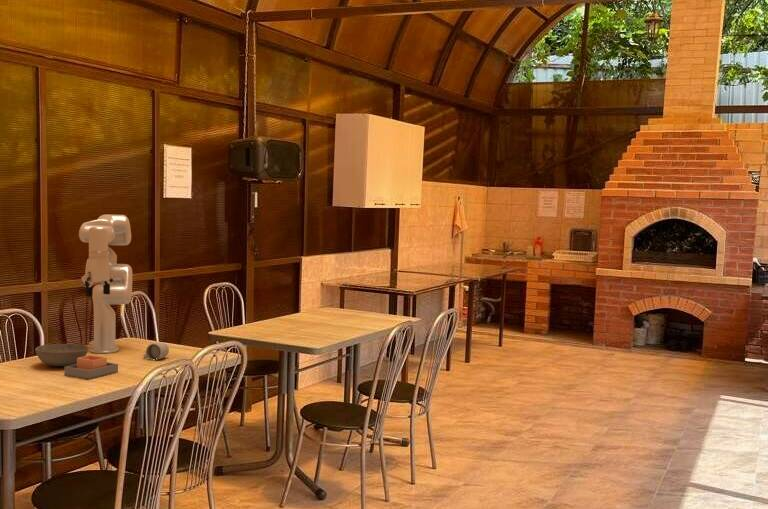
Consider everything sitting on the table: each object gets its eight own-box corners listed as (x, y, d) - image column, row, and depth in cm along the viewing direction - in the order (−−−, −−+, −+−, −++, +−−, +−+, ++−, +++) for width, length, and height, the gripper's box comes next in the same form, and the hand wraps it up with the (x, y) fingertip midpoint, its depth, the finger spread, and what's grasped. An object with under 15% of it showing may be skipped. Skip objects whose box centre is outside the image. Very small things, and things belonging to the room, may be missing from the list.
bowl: (26, 364, 319) (26, 346, 318) (74, 358, 334) (75, 340, 334) (48, 373, 304) (48, 353, 304) (97, 366, 320) (97, 347, 319)
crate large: (64, 375, 301) (64, 366, 301) (93, 368, 315) (93, 360, 315) (89, 379, 296) (89, 370, 296) (117, 372, 310) (118, 363, 310)
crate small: (76, 372, 304) (76, 358, 304) (90, 369, 311) (90, 355, 310) (93, 375, 301) (93, 360, 300) (106, 372, 307) (106, 357, 307)
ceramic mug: (170, 357, 342) (170, 341, 341) (160, 361, 334) (160, 344, 333) (149, 356, 344) (149, 339, 343) (139, 359, 336) (139, 342, 335)
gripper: (106, 254, 328) (106, 292, 329) (75, 255, 312) (75, 296, 313) (119, 255, 325) (119, 294, 326) (89, 256, 309) (88, 298, 310)
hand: (98, 295), depth 320 cm, fingers open, 9 cm apart
